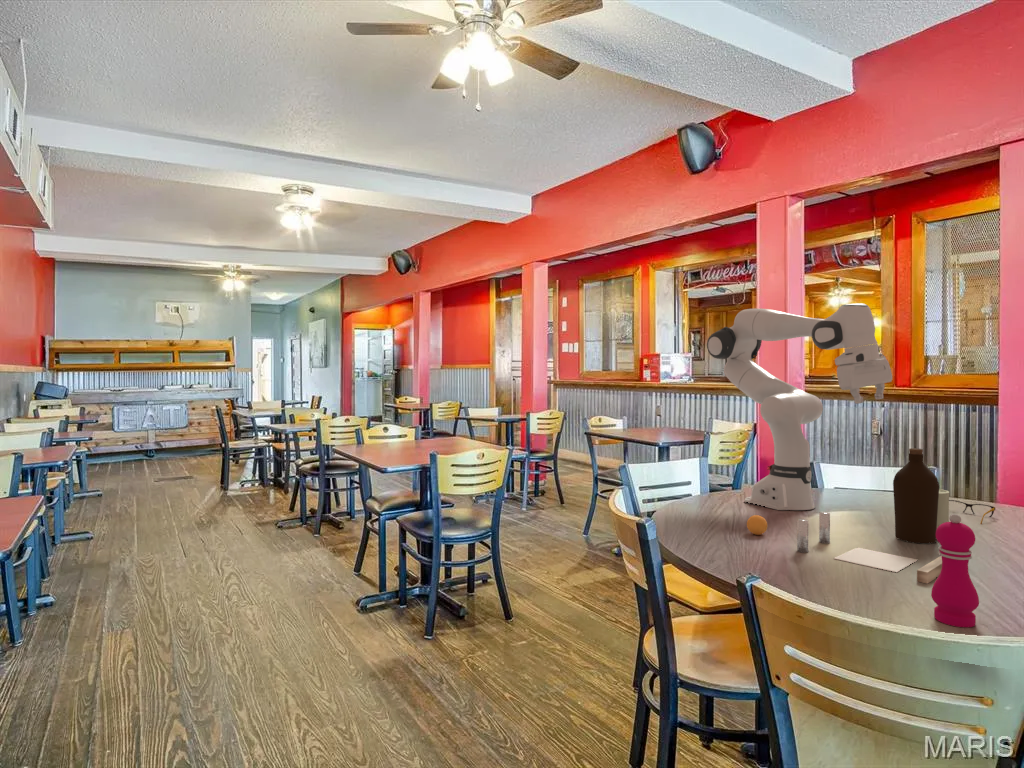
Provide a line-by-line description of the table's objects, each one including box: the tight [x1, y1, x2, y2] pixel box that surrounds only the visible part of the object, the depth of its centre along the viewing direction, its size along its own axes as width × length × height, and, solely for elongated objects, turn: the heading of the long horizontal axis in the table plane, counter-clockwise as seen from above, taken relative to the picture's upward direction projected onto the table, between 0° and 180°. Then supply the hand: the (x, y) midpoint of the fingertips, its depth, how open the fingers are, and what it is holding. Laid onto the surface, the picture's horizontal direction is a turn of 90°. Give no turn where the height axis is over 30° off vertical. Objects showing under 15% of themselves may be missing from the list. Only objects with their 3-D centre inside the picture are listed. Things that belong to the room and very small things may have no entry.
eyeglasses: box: [949, 499, 996, 525], centre depth 195 cm, size 14×14×4 cm
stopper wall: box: [916, 555, 942, 584], centre depth 141 cm, size 2×20×2 cm, turn 129°
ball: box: [746, 514, 768, 536], centre depth 175 cm, size 6×6×6 cm
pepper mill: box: [930, 513, 980, 628], centre depth 114 cm, size 7×7×20 cm
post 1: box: [796, 518, 809, 553], centre depth 159 cm, size 3×3×8 cm
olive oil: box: [892, 447, 940, 544], centre depth 169 cm, size 11×11×25 cm
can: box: [937, 488, 950, 528], centre depth 179 cm, size 9×9×12 cm
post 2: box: [818, 511, 831, 545], centre depth 167 cm, size 3×3×8 cm
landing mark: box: [833, 547, 918, 574], centre depth 151 cm, size 14×14×1 cm
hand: (869, 401), depth 185 cm, fingers open, 8 cm apart
